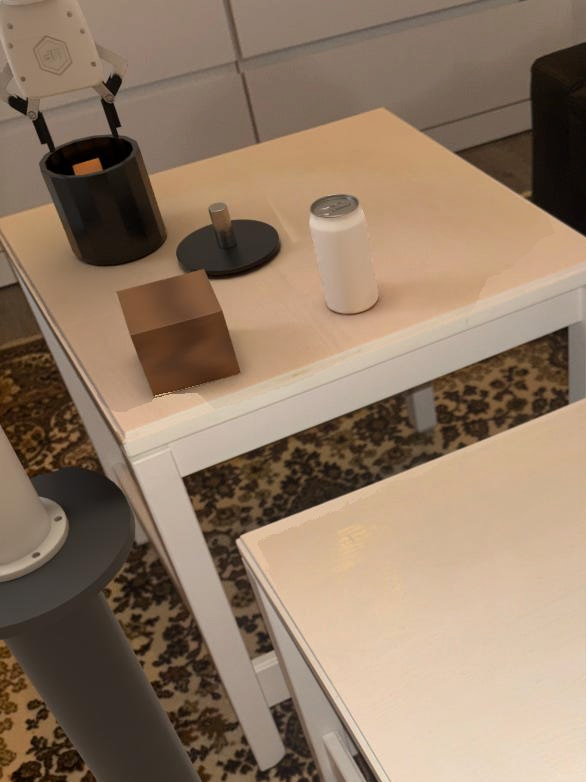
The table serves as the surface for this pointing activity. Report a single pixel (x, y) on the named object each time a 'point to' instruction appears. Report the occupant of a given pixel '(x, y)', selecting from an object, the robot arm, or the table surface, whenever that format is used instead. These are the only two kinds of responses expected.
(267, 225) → the tin lid
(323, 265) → the can
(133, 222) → the trash tin
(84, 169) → the block
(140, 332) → the riser
